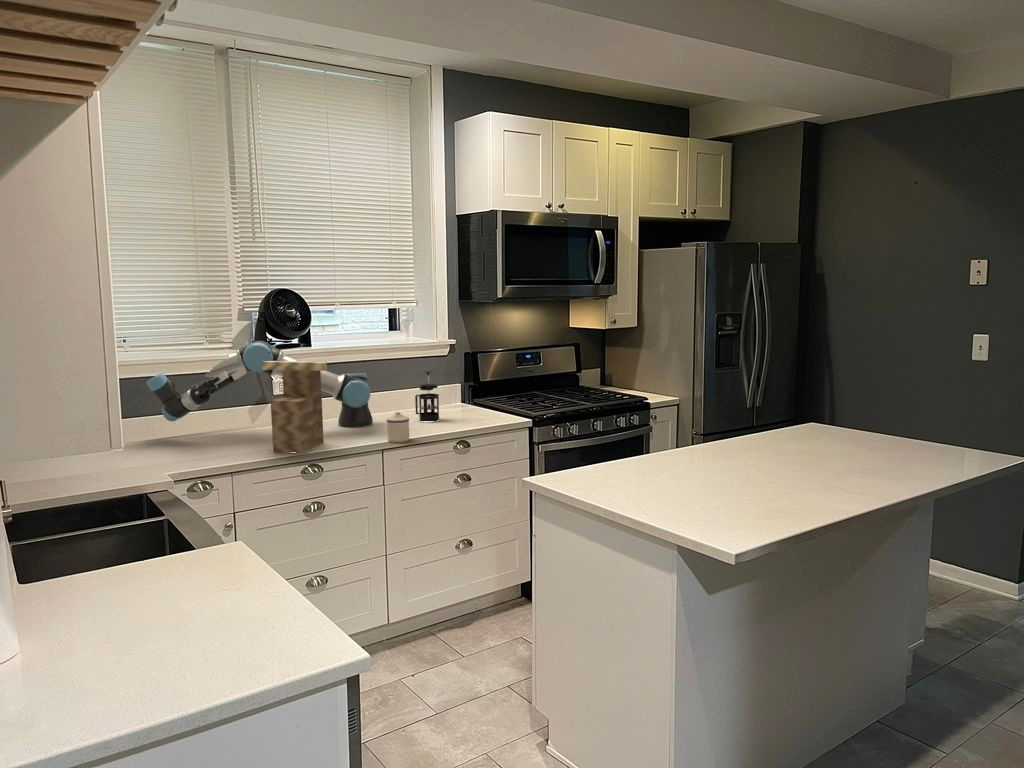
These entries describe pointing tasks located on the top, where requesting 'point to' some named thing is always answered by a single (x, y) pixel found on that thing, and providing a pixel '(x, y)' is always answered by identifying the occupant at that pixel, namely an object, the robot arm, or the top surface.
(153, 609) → the top surface
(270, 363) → the beech rod
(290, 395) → the walnut shelf
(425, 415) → the french press
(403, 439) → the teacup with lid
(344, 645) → the top surface
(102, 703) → the top surface
